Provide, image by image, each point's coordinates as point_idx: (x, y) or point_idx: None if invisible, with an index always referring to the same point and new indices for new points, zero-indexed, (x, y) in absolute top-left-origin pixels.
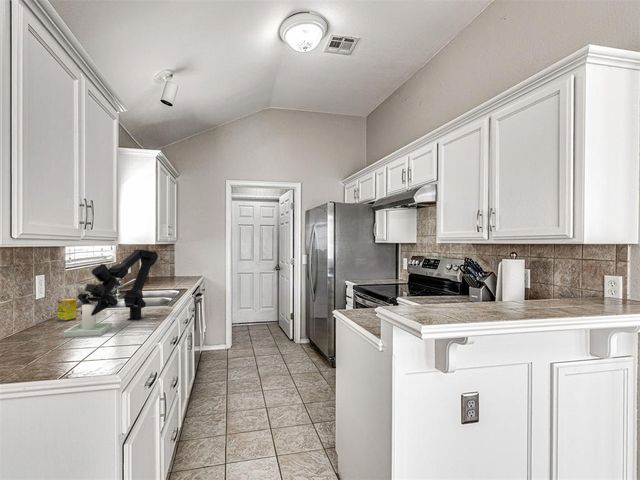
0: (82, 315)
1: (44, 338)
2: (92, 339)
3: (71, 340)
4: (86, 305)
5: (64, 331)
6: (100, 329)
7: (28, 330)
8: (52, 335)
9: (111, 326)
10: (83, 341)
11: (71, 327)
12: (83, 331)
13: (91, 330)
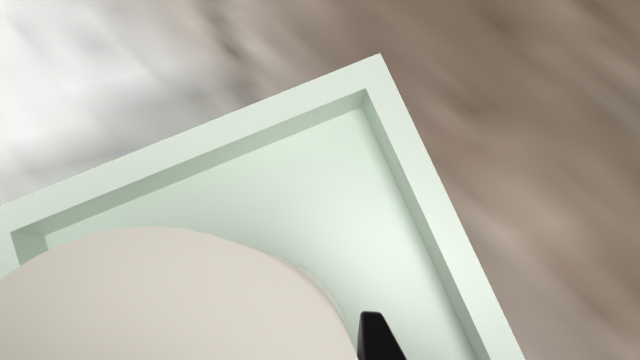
0: (287, 262)
1: (524, 13)
2: (19, 91)
3: (200, 16)
4: (128, 307)
5: (377, 70)
6: (8, 257)
7: None
8: (557, 122)
9: None
10: (58, 14)
11: (471, 259)
12: (169, 140)
13: (90, 186)
